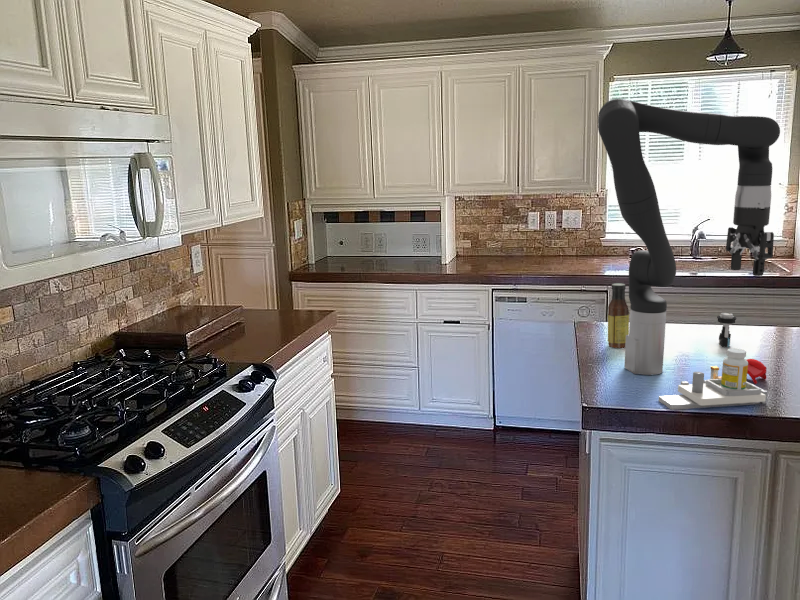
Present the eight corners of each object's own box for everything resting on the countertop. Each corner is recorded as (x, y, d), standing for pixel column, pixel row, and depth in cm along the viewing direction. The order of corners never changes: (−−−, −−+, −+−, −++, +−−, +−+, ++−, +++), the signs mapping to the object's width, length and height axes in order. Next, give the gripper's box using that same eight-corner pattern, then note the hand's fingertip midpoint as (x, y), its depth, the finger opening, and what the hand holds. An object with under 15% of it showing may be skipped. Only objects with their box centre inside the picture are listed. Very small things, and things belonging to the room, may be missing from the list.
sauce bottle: (631, 346, 207) (635, 283, 203) (622, 350, 202) (626, 286, 198) (612, 342, 211) (614, 281, 207) (602, 346, 207) (605, 284, 203)
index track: (671, 409, 154) (672, 384, 153) (647, 393, 165) (648, 369, 164) (766, 403, 157) (768, 379, 155) (736, 387, 168) (738, 364, 167)
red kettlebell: (752, 375, 168) (771, 361, 168) (734, 361, 172) (753, 348, 172) (755, 393, 172) (773, 380, 173) (737, 380, 177) (755, 367, 177)
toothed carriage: (700, 405, 152) (702, 380, 151) (675, 389, 163) (676, 366, 162) (765, 401, 154) (767, 376, 153) (735, 385, 165) (738, 362, 164)
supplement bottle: (727, 393, 156) (730, 353, 154) (716, 385, 161) (719, 347, 159) (750, 392, 156) (753, 353, 154) (738, 385, 161) (742, 347, 159)
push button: (712, 341, 210) (714, 311, 208) (730, 342, 209) (733, 311, 207) (717, 347, 204) (719, 315, 202) (735, 348, 203) (738, 316, 201)
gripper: (719, 203, 162) (714, 268, 166) (756, 207, 148) (750, 278, 152) (748, 202, 163) (742, 267, 166) (787, 206, 149) (780, 277, 153)
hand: (746, 272), depth 159 cm, fingers open, 8 cm apart
